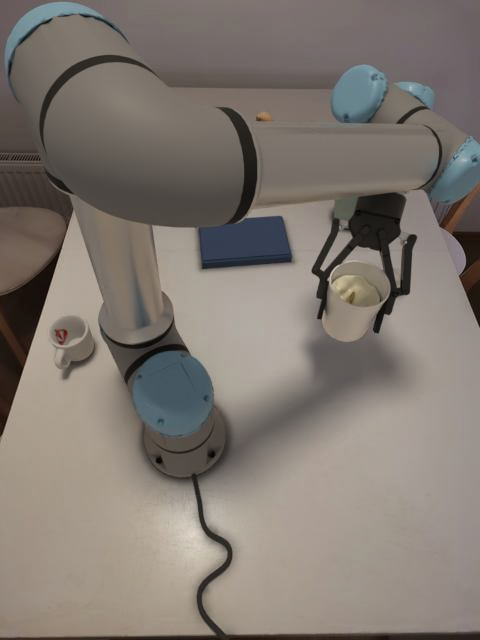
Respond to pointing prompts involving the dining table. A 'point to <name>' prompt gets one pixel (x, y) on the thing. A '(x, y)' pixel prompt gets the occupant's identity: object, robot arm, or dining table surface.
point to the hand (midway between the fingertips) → (347, 324)
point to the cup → (70, 339)
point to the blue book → (245, 243)
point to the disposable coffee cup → (344, 208)
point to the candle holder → (354, 299)
